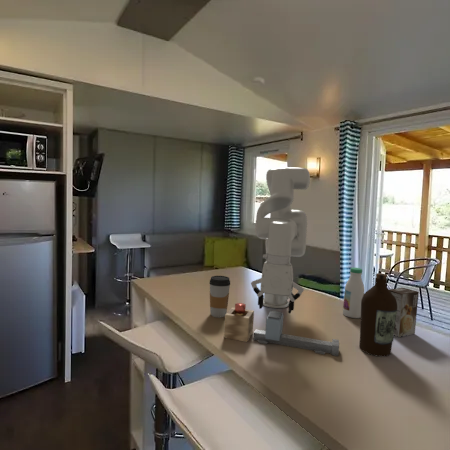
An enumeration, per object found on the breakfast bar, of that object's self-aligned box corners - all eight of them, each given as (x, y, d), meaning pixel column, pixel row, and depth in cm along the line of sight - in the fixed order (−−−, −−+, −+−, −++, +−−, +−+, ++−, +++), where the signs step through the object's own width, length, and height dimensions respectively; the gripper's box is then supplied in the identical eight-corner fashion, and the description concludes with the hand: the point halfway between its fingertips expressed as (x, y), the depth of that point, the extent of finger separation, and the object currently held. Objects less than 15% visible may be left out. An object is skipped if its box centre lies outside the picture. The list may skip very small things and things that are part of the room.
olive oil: (350, 343, 115) (356, 270, 113) (378, 341, 117) (384, 270, 115) (370, 358, 105) (378, 278, 102) (400, 356, 107) (408, 278, 105)
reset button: (240, 317, 119) (241, 302, 119) (246, 320, 116) (247, 305, 116) (232, 319, 117) (232, 303, 117) (238, 322, 114) (239, 307, 114)
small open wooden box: (224, 337, 115) (225, 314, 114) (230, 329, 122) (232, 307, 122) (247, 341, 112) (248, 318, 112) (252, 332, 120) (254, 310, 119)
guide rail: (252, 341, 113) (252, 332, 113) (256, 334, 119) (256, 325, 118) (338, 357, 105) (339, 346, 104) (338, 348, 110) (338, 339, 110)
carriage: (265, 339, 111) (266, 316, 110) (269, 331, 118) (270, 309, 117) (278, 341, 110) (280, 318, 109) (282, 333, 116) (283, 311, 116)
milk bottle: (362, 314, 145) (366, 268, 143) (361, 320, 138) (365, 271, 136) (343, 311, 148) (347, 265, 146) (341, 316, 141) (345, 268, 139)
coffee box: (399, 327, 132) (403, 287, 130) (415, 334, 126) (419, 291, 124) (383, 331, 127) (387, 289, 126) (399, 338, 122) (403, 293, 120)
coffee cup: (226, 319, 131) (228, 281, 130) (205, 317, 133) (207, 279, 132) (230, 312, 140) (232, 276, 138) (210, 310, 141) (212, 274, 140)
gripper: (250, 258, 111) (247, 309, 113) (304, 264, 105) (300, 318, 108) (255, 254, 118) (252, 302, 120) (306, 259, 112) (303, 309, 115)
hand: (275, 309), depth 114 cm, fingers open, 9 cm apart
